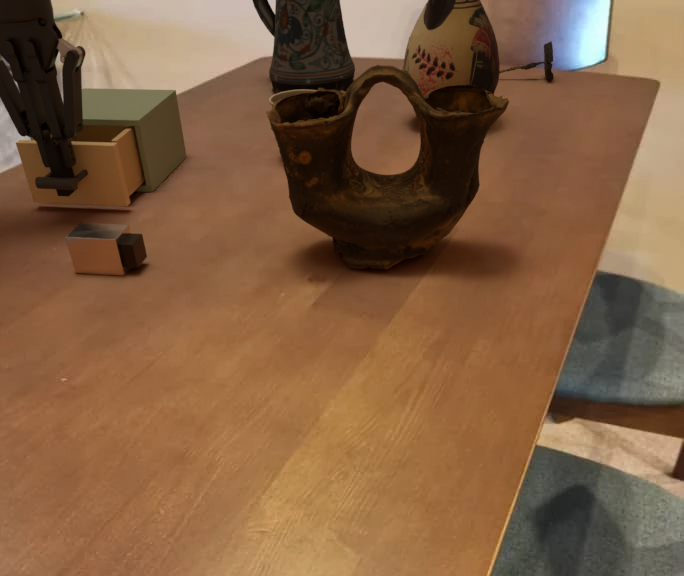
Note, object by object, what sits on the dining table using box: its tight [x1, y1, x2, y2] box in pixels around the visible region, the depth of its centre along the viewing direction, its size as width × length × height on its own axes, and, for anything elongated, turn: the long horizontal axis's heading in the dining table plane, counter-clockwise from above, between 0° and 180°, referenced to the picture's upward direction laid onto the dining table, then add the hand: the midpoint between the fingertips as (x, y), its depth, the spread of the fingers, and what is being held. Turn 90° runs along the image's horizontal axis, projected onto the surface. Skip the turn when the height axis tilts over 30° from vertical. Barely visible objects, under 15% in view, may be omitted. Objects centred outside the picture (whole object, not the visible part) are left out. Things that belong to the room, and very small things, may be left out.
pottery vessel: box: [266, 64, 510, 271], centre depth 79 cm, size 25×11×20 cm, turn 88°
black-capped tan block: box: [65, 222, 148, 277], centre depth 83 cm, size 8×4×4 cm, turn 80°
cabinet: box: [63, 87, 187, 193], centre depth 105 cm, size 15×15×10 cm
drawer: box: [15, 125, 145, 207], centre depth 97 cm, size 18×13×8 cm
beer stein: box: [252, 0, 356, 94], centre depth 132 cm, size 16×19×25 cm
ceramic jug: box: [402, 0, 501, 102], centre depth 111 cm, size 17×15×30 cm
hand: (67, 192), depth 94 cm, fingers closed
